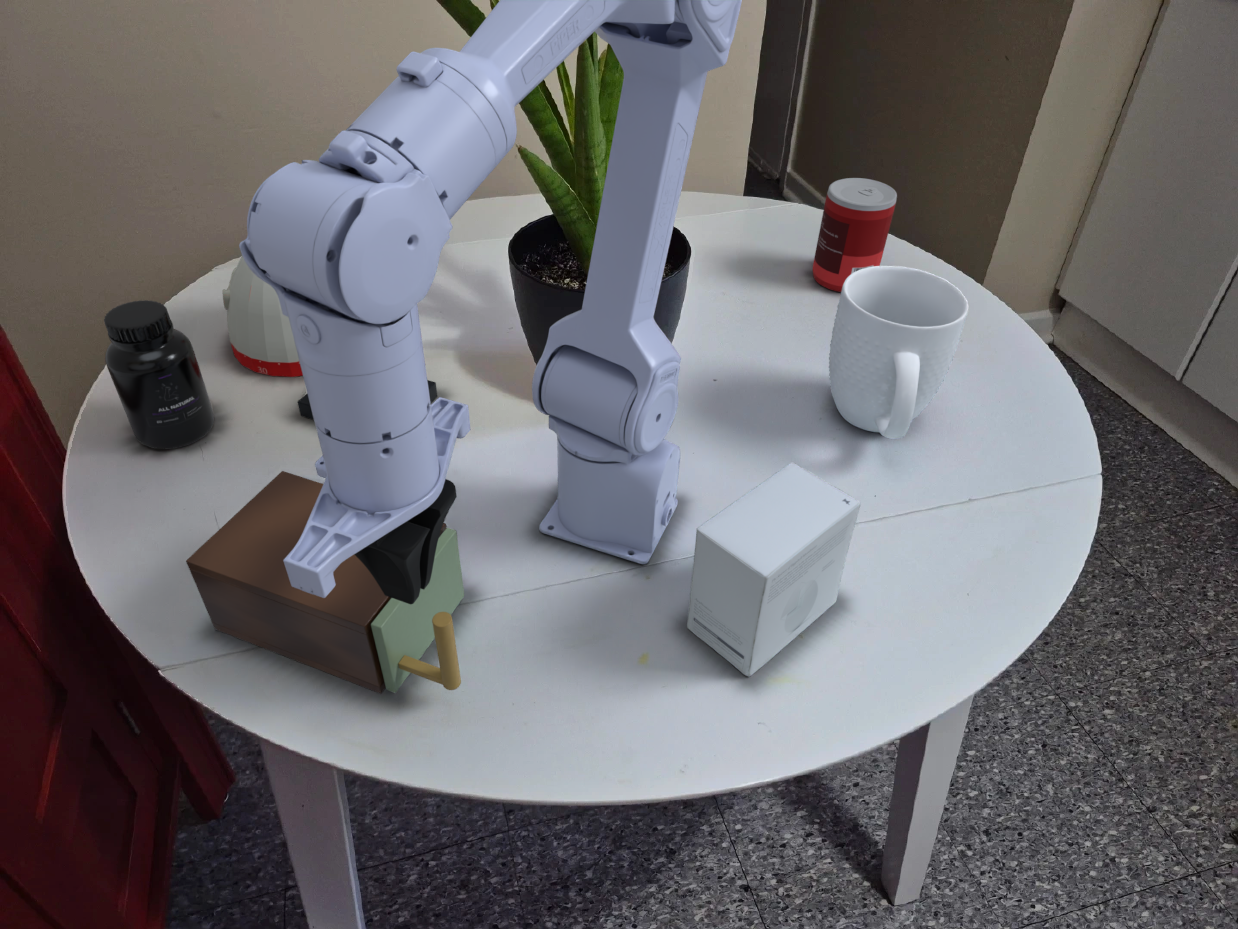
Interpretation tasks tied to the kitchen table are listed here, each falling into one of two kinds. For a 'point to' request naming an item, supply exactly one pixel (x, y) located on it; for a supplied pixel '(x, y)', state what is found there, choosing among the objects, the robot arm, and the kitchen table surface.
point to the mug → (892, 345)
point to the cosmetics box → (769, 566)
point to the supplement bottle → (156, 376)
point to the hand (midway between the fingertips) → (406, 588)
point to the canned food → (852, 229)
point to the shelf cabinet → (289, 588)
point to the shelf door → (423, 624)
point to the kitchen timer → (259, 325)
